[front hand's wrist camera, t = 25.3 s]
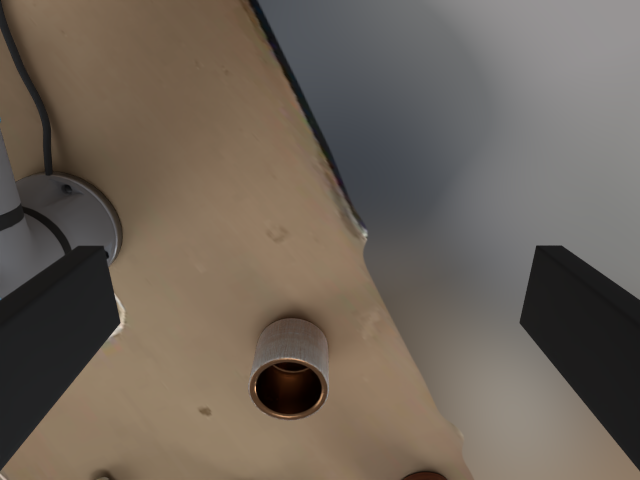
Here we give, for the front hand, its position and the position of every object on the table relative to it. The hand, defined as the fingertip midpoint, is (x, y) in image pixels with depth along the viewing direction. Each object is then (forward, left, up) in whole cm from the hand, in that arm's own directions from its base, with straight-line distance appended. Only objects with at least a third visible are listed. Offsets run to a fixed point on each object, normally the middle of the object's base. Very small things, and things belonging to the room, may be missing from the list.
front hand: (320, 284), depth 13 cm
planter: (+30, -14, -41) cm, 52 cm away
